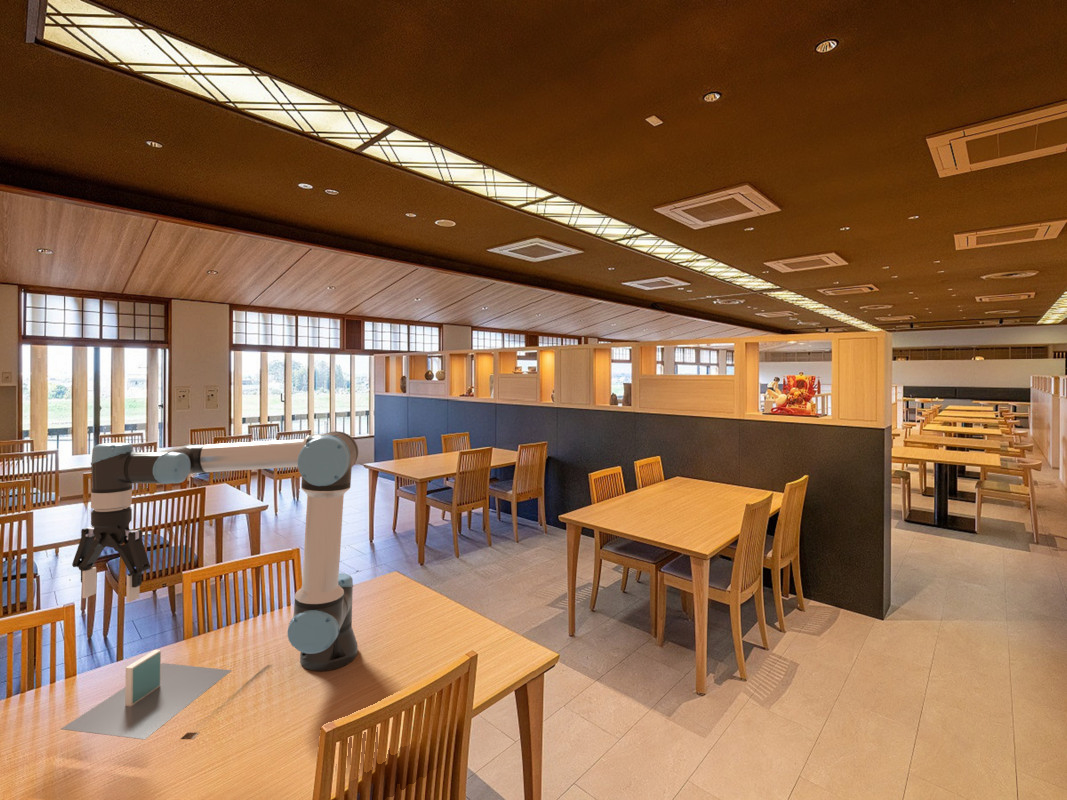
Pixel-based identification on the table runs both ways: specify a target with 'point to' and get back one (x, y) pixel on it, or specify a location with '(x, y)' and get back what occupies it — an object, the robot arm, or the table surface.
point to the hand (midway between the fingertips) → (110, 597)
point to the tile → (142, 677)
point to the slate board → (149, 703)
